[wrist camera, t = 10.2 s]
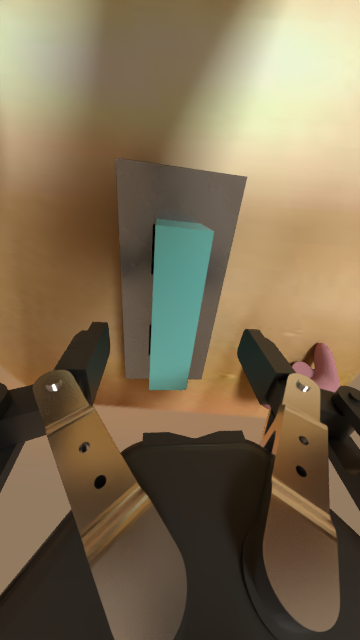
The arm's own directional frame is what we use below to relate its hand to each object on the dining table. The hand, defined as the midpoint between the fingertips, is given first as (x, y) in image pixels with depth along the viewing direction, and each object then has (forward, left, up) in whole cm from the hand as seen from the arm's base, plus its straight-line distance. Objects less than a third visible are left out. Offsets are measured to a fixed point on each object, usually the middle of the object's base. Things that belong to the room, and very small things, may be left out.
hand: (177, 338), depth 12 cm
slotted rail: (0, 0, -9) cm, 9 cm away
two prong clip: (0, 0, -8) cm, 8 cm away
